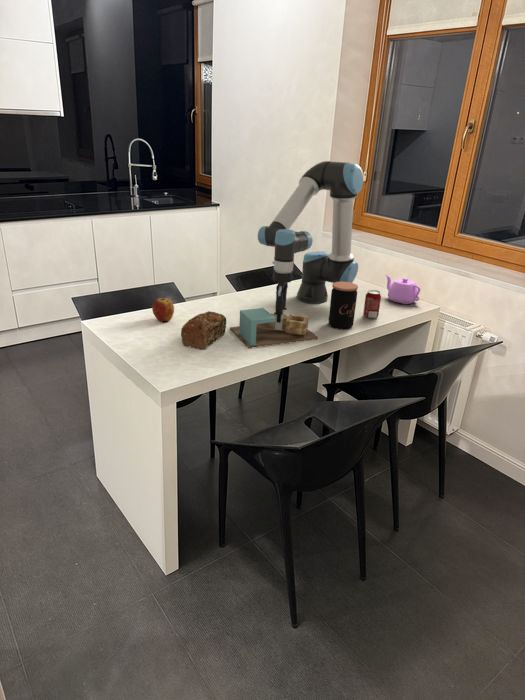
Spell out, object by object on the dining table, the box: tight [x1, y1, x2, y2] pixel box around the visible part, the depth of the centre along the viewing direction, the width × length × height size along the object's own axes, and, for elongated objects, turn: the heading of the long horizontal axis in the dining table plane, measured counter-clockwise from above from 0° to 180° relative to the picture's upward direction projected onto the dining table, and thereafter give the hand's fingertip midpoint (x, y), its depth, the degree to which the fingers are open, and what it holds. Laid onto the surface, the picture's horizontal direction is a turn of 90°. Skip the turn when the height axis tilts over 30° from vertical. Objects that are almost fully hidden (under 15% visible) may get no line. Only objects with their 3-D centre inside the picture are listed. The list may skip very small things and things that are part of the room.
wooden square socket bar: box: [257, 312, 310, 335], centre depth 199 cm, size 22×8×5 cm, turn 79°
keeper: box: [238, 307, 276, 348], centre depth 191 cm, size 12×10×11 cm
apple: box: [151, 297, 175, 322], centre depth 207 cm, size 9×9×10 cm
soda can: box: [362, 289, 382, 320], centre depth 221 cm, size 7×7×12 cm
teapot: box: [385, 274, 421, 305], centre depth 246 cm, size 20×13×12 cm, turn 48°
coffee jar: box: [328, 282, 359, 331], centre depth 209 cm, size 11×11×18 cm
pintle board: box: [229, 325, 318, 349], centre depth 199 cm, size 20×30×6 cm, turn 114°
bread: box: [180, 310, 227, 350], centre depth 190 cm, size 19×11×10 cm, turn 157°
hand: (279, 327), depth 200 cm, fingers closed on wooden square socket bar, 4 cm apart
